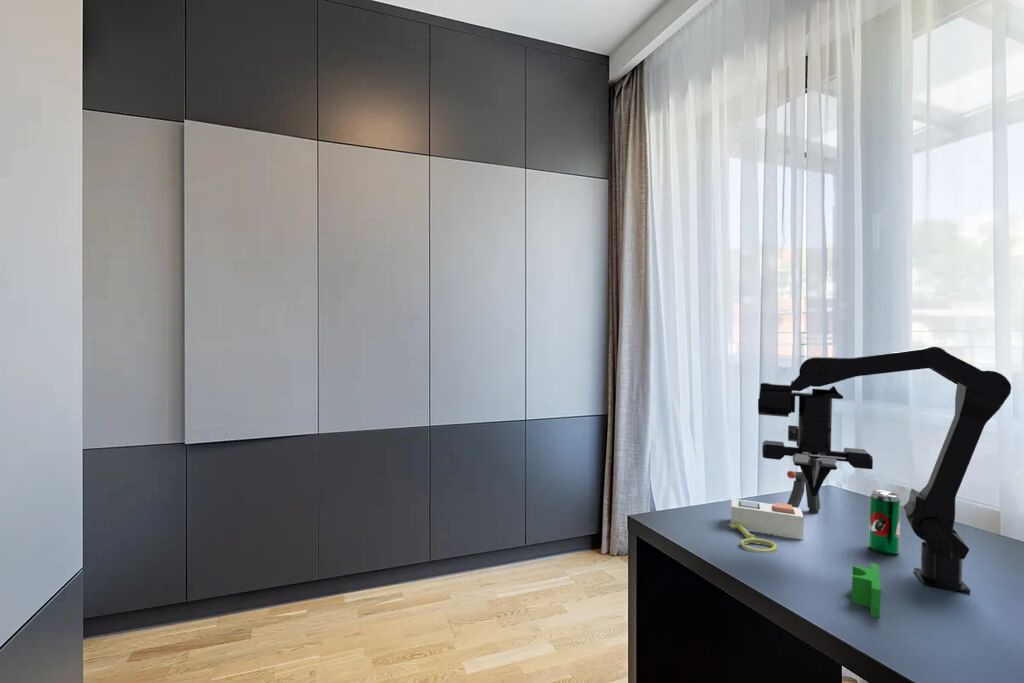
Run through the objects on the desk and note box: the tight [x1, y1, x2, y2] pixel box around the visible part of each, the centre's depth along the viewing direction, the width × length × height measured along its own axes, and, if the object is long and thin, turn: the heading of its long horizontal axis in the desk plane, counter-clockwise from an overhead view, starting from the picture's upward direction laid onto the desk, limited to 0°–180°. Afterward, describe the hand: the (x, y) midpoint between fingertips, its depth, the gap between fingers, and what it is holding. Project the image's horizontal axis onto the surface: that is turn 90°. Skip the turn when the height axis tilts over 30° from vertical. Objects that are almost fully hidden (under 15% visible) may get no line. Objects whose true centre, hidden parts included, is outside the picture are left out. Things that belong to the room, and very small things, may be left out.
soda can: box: [868, 489, 902, 556], centre depth 105 cm, size 5×5×12 cm
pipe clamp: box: [851, 562, 882, 619], centre depth 85 cm, size 11×4×5 cm, turn 145°
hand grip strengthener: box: [786, 458, 821, 514], centre depth 125 cm, size 2×12×15 cm, turn 118°
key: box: [728, 522, 778, 553], centre depth 108 cm, size 7×12×2 cm, turn 18°
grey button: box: [740, 500, 758, 509], centre depth 117 cm, size 4×4×5 cm
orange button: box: [773, 502, 793, 514], centre depth 114 cm, size 4×4×5 cm
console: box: [730, 498, 804, 541], centre depth 115 cm, size 6×14×5 cm, turn 66°
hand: (813, 496), depth 102 cm, fingers closed
